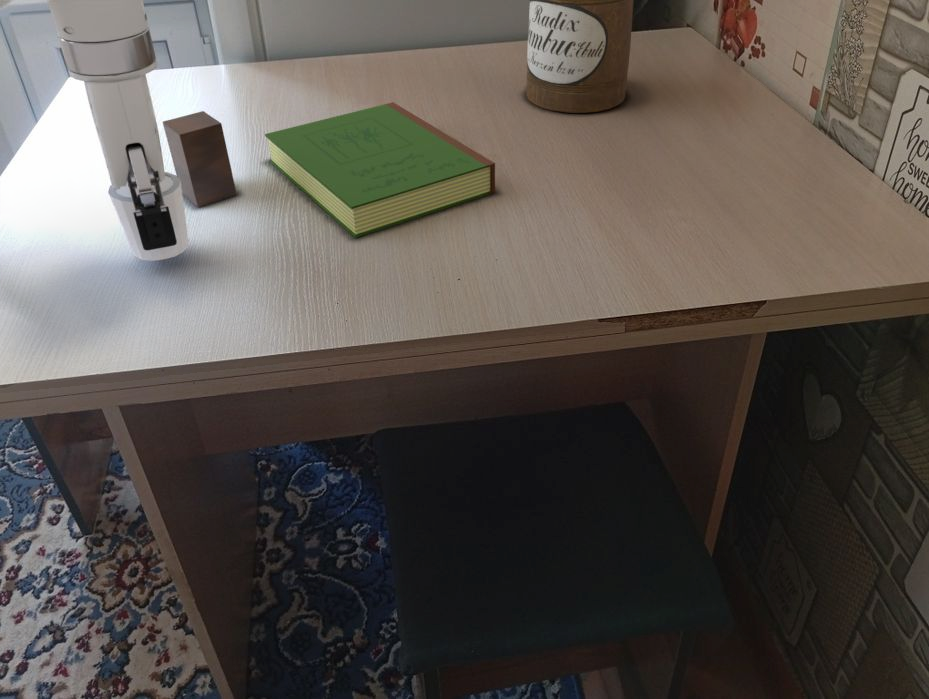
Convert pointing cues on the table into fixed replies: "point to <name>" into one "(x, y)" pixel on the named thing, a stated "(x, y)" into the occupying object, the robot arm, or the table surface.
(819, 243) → the table surface
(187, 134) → the walnut block
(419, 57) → the table surface
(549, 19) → the wooden container
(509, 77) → the table surface
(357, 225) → the hardcover book
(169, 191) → the white cup
